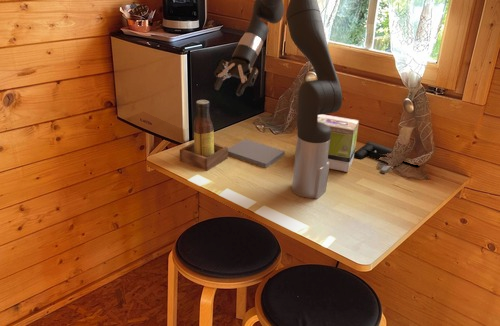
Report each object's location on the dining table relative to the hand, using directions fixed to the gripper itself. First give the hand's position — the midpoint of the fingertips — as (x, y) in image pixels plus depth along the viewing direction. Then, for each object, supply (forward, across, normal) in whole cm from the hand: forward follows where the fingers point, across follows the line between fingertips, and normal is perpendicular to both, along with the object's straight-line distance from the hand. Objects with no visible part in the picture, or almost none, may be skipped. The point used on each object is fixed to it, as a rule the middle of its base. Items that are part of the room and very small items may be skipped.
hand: (226, 91), depth 157 cm
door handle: (-3, +48, +32) cm, 58 cm away
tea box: (+6, +33, +23) cm, 41 cm away
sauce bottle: (+23, 0, +6) cm, 23 cm away
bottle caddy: (+22, 0, +6) cm, 23 cm away
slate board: (+13, +11, +15) cm, 23 cm away
